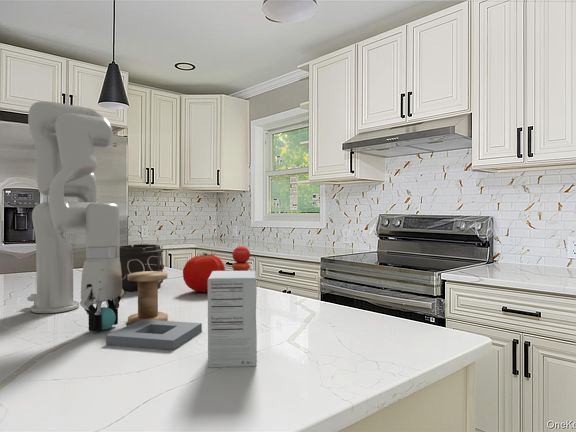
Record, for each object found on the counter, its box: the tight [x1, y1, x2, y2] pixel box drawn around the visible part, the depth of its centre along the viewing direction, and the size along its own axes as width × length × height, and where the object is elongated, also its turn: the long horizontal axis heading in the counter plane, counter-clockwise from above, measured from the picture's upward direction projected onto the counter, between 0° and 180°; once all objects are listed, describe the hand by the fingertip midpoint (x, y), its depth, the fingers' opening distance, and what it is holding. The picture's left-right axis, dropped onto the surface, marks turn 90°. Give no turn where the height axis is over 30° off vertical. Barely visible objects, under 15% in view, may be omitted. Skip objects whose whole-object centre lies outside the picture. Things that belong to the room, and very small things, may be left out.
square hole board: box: [105, 319, 203, 351], centre depth 99 cm, size 16×14×2 cm
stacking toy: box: [231, 245, 251, 271], centre depth 125 cm, size 8×8×19 cm
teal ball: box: [100, 306, 116, 331], centre depth 105 cm, size 6×6×6 cm
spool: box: [127, 271, 169, 325], centre depth 114 cm, size 10×10×12 cm
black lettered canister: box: [119, 243, 165, 293], centre depth 161 cm, size 18×18×16 cm
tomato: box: [182, 252, 226, 293], centre depth 153 cm, size 16×14×14 cm
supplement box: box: [207, 270, 258, 368], centre depth 85 cm, size 10×9×17 cm
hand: (103, 326), depth 105 cm, fingers closed on teal ball, 5 cm apart
